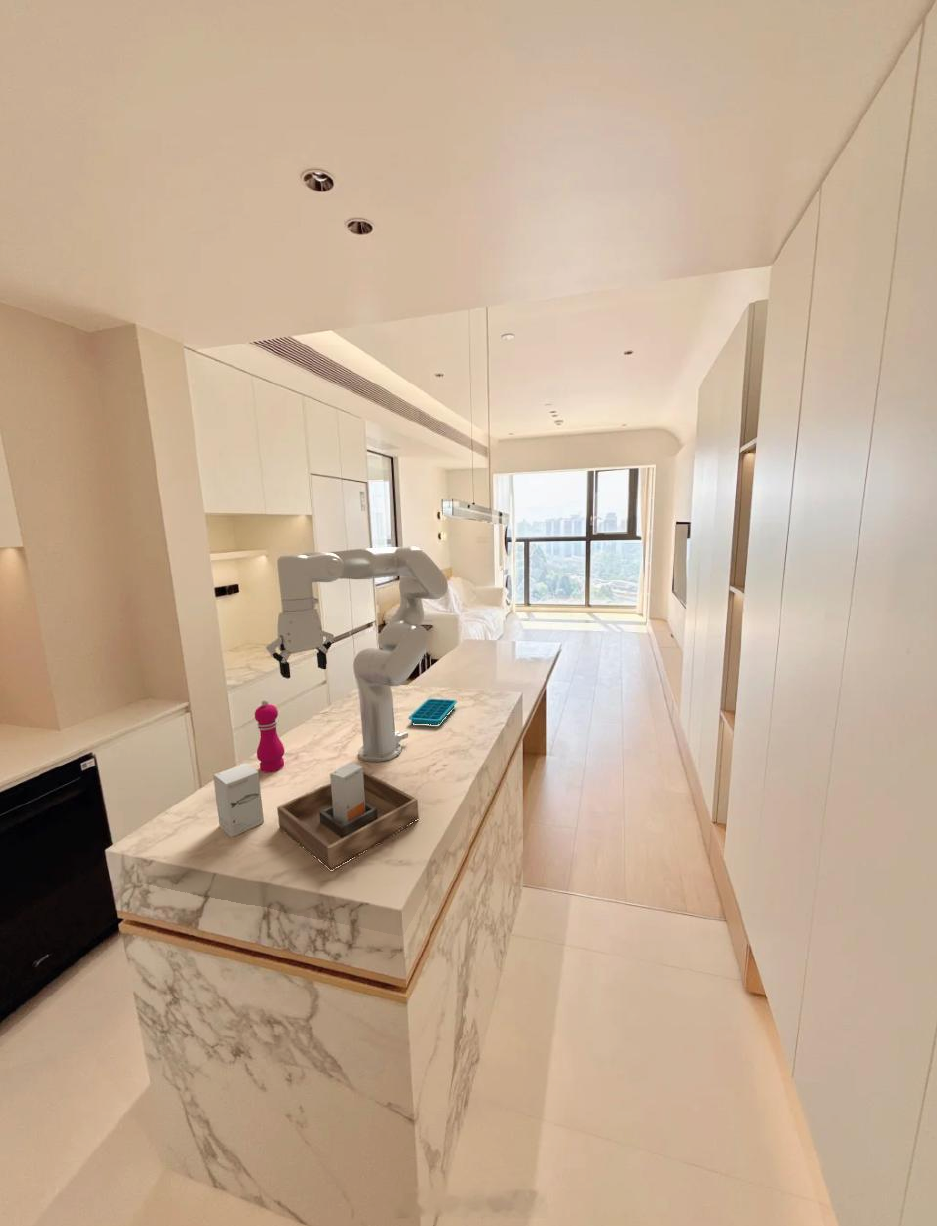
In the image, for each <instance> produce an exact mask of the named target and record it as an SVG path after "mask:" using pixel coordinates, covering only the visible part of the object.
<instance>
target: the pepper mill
mask: <svg viewBox="0 0 937 1226" xmlns="http://www.w3.org/2000/svg"><path fill="white" fill-rule="evenodd" d="M278 711H279V710H278V708H277V707H276V706H275V705H274V704H270V703H269V700H268V699H263V700H261V705H260V706H258V707H257V709H255V712H254V719H255V721H256V722H257V729H258V730H259V732H260V739H259V743H258V746H257V750H256V757H257V760H259V765H260V766H259V767H260V768H259V769H260V771H261V772H262V773H263V772H264V773H274V772H276V771H278V770H281V769H282V768H283V767H284V765H285V759H284V756H285V746H284V744H283V742H282V741H281V739H280V737H279V736H278V732H277V726H278V721H277V717H278V715H279V712H278Z"/></svg>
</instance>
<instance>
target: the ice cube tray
mask: <svg viewBox="0 0 937 1226" xmlns="http://www.w3.org/2000/svg"><path fill="white" fill-rule="evenodd" d="M457 703H458V701H457V700H456V699H446V698H445V699H443V698H428V699H426V700H425V701H424V702H423V703H422V704H421V705H420V706H418V708H417V709H415V710H414V711H413V713H411V714H410V715H409V716H408V720H411V724H412V723H414V724H429V725H430V724H431V725H438V724H440V723H441V722H442V720H443V719H444V718H445V717H446V716H447V714H448V713H449V712H450V711H451V710H452V709H453V708H454V709H455V705H456V704H457Z"/></svg>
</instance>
